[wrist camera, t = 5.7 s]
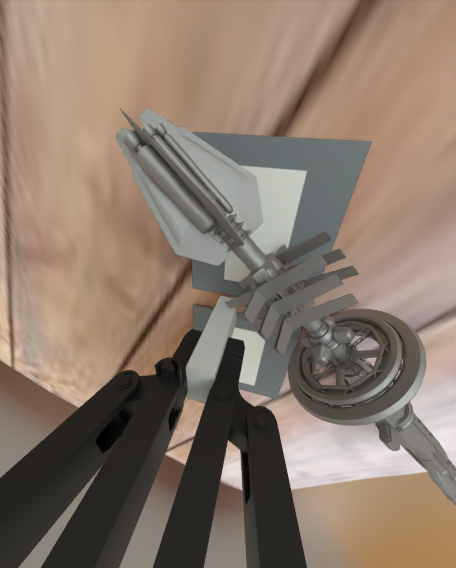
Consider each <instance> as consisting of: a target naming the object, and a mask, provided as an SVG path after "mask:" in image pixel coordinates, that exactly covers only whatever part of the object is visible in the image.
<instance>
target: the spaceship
mask: <svg viewBox="0 0 456 568" xmlns="http://www.w3.org/2000/svg"><path fill="white" fill-rule="evenodd" d="M120 110H121V109H120ZM121 111H122V110H121ZM122 113H123V115H124V116H125V117H126V119H127V120H128V122H129V123H130V124H131V126H132V127H133V129H134V130H135V131H136V132H135V131H129V130H128V129H126V128H122V129H121V130H120V131H119V132H118V133H117V134H116V139H117V141H118V143H119V145H120V147H121V149H122V151H123V153H124V154H125V156H126V158H127V160H128V162H129V164H130V166H131V168H132V170H133V174H132V176H133V178H134V180H135V181H136V183H137V185H138V187H139V189H140V190H141V192H142V194H143V196H144V198H145V200H146V201H147V203H148V205H149V207H150V209H151V210H152V212H153V214H154V216H155V218H156V220H157V221H158V223H159V225H160V227H161V229H162V231H163V232H164V234H165V236H166V238H167V240H168V241H169V243H170V245H171V247H172V249H173V251H174V252H175V254H176V255H180V256H184V257H187V258H191V259H195V260H198V261H202V262H206V263H209V264H213V265H220V264H221V263H222V262H223V261H224V260H225V259H226V258H227V257H228V256H229V255H230V254H232V253H235V254H236V256H237V257H238V258H240V260H241V261H242V262H243V263H244V264H245V265H246V266H247V268H248V269H249V270H250V271H251V272H250V274H249V275H248V276H247V277H245V278H244V279H243V280H241V281H240V282H239V283H238V284H239V285H240V286H241V287H242V288H245V287H247V286H249V285H250V284H253V285H251V286H250V287H251V288H252V289H253V290H252V291H250V292H248V293H245V294H243V295H241V296H238V297H236V298H234V299H232V300H229V301H227V302H225V304H226V305H227V306H228V307H229V308H230V309H231V308H236V307H240V306H245V305H247V306H246V308H245V310H244V312H242V313H239V314H236V315H237V316H238V317H239V318H240V319H241V320H245V321H246V322H247V323H248V324H250V322H251V323H253V321H254V319H256V318H263V320H262V322H261V323H260V324H254V325H248V327H249V328H250V329H251V330H252V331H258V334H259V335H260V336H261V337H262V338H263V339H264V340H266V339H267V340H268V339H269V337H270V335H271V333H272V331H278V333H277V337H276V340H275V343H274V347H273V349H274V350H275V352H276V353H277V354H278V355H279V356H280V355H281V354H282V355H284V353H285V350H286V348H287V345H288V342H289V340H290V337H291V334H292V332H295V331H296V330H295V329H296V328H299V327H301V326H303V327H304V328H305V330H306V333H305V334H304V335H302V337H301V338H300V340H299V341H298V342H297V344H296V346H295V348H294V350H293V352H292V354H291V357H290V361H289V366H288V377H289V382H290V386H291V389H292V392H293V394H294V396H295V398H296V399H297V401H298V402H299V403H300V405H301V406H302V407H303V408H304V409H305V410H306V411H308V412H309V413H310V414H312V415H313V416H315V417H317V418H319V419H321V420H324V421H326V422H330V423H334V424H339V425H354V426H355V425H365V424H370V423H375V424H377V425H378V426H377V425H376V426H377V427H378V429H379V438H380V440H381V441H382V442H383V443H384V444H385V445H386V446H387V447H388V448H389V449H391V450H392V451H398V450H399V449H400V445H401V446H402V447H403V448H404V449H405V450H406V451H407V452H408V453H409V454H410V455H411V456H412V457H413V458H414V459H415V460H416V461H417V462H418V463H419V464H420V465H421V466H422V467H424V468H425V469H426V470H427V471H428V473H429V475H430V477H431V479H432V480H433V482H434V483H435V484H436V485H437V486H438V487H439V488H440V489H441V490H442V492H443V493H444V494H445V495H446V496H447V498H448V499H449V500H450V501H451V502H453V503H454V504H455V505H456V467H455V466H454V465H453V464H452V462H451V461H450V460H449V459H448V458H447V455H446V453H445V451H444V450H443V448H442V446H441V445H440V443H439V442H438V440H437V439H436V438H435V437H434V436H433V434H432V433H431V432H430V431H429V430H428V429H427V427H425V425H424V424H423V423H422V422H421V420H419V418H418V417H417V416H416V415H415V414H414V413H413V408H412V405H411V403H410V401H411V399H412V398H413V397H414V396H415V394H416V393H417V391H418V389H419V388H420V385H421V383H422V381H423V377H424V374H425V369H426V354H425V349H424V346H423V344H422V341H421V340H420V338H419V336H418V335H417V333H416V332H415V331H414V330H413V329H412V328H411V327H410V326H409V325H408V324H407V323H405V322H404V321H402V320H401V319H399V318H397V317H395V316H393V315H390V314H388V313H385V312H382V311H377V310H371V309H354V310H348V311H343V312H340V313H336V314H334V315H331V316H330V314H333V313H335V312H338V311H340V310H343V309H345V308H348V307H350V306H352V305H355V304H357V303H358V301H357V300H356V298H355V297H354V296H353V295H352V294H348V295H345V296H343V297H340V298H338V299H335V300H332V301H330V302H327V303H325V304H322V305H319V306H317V307H314V308H313V304H314V300H313V299H314V298H316V297H318V296H320V295H322V294H324V293H326V292H328V291H330V290H332V289H334V288H336V287H339V286H341V285H342V284H343V282H342V281H341V280H342V279H345V278H348V277H352V276H355V275H358V274H359V273H358V272H357V271H356V269H355V268H354V267H353V266H350V267H346V268H343V269H339V270H336V271H333V272H329V273H326V274H322V275H319V276H315V277H312V278H308V275H310V274H312V273H313V272H315V271H317V270H319V269H320V268H322V267H324V266H326V265H329V264H331V263H334V262H336V261H339V260H341V259H344V258H345V257H346V256H345V255H344V254H343V252H342V251H341V250H340V249H337V250H334V251H332V252H329V253H327V254H324V255H320V254H318V255H316V256H314V257H312V258H310V259H308V260H307V261H305V262H303V263H300V264H299V261H298V260H297V258H299V257H301V256H302V255H304V254H306V253H308V252H310V251H312V250H314V249H316V248H318V247H320V246H322V245H324V244H326V243H328V242H330V241H331V240H332V238H331V237H330V236H329V234H328V233H327V232H326V231H325V232H322V233H320V234H318V235H316V236H314V237H312V238H310V239H308V240H306V241H304V242H302V243H300V244H298V245H295V246H293V247H291V248H289V249H288V248H287V247H286V246H285V244H284V245H283V246H281V247H280V249H279V250H278V251H277V253H276V254H275V255H274V253H269V254H267V255H265V254H264V253H263V252H262V251H261V250H260V249H259V248H258V246H257V245H256V244H255V242H254V241H253V240H252V239H251V238H250V237H249V236H250V235H251V234H252V233H253V232H254V231H255V230H256V229H257V228H258V227H259V226H260V225H261V224H262V223H263V215H262V209H261V203H260V197H259V191H258V185H257V179H256V176H255V175H253V174H252V173H250V172H249V171H247V170H246V169H244V168H243V167H241V166H240V165H238V164H237V163H236V162H234V161H233V160H231V159H230V158H228V157H227V156H225V155H224V154H222V153H221V152H219V151H218V150H216V149H215V148H213V147H212V146H211V145H209V144H208V143H206V142H205V141H203V140H202V139H200V138H199V137H197V136H196V135H194V134H193V133H191V132H190V131H188V130H187V129H186V128H184V127H177V126H175V125H174V124H172V123H171V122H169V121H168V120H166V119H165V118H163V117H161V116H160V115H158V114H157V113H155V112H154V111H152V110H151V109H145V110H144V111H143V112H142V113H141V115H140V120H141V122H142V124H143V126H144V129H143V130H142V129H141V128H140V127H139V126H138V125H137V124H136V123H135V122H134V121H133V120H132V119H130V118H129V117H128V116H127V115H126V114H125V113H124V112H123V111H122ZM355 336H361V337H360V338H359V339H361V340H360V341H359V342H357V341H358V340H359V339H357V340H356V341H355V342H353V343H352V344H351V343H350V342H351V341H352V340H353V339H354V337H355ZM363 337H365V338H363ZM367 337H369V338H371V339H373V340H375V341H376V342H378V343H379V345H380V347H381V348H380V351H373V350H366V351H357V349H356V350H355V348H356V347H355V346H357V345H358V344H359V343H361V342H362V341H363V340H365V339H366V338H367ZM362 338H363V339H362ZM401 340H402V341H401ZM347 342H349V343H347ZM402 342H403V343H402ZM355 343H357V344H355ZM354 344H355V345H354ZM351 345H352V346H353V347H352V346H351ZM373 357H377V359H376V362H375V365H374V366H372V365H371V364H370V362H368V361H366V360H362V359H361V358H373ZM381 358H382V359H381ZM402 359H403V364H402ZM380 361H381V362H380ZM328 362H329V363H328ZM316 363H318V364H320V365H322V366H321V367H324V366H323V365H325V366H327V367H328V366H329V365H330V366H331V367H330V366H329V367H330V368H329V367H328V368H329V369H328V368H327V367H326V369H325V370H324V371H323V372H321V373H319V374H320V375H321V374H322V373H324V372H325V371H326V370H327V369H328V371H327V372H326V373H325V374H323V375H322V376H320V375H319V374H318V372H319V369H320V368H321V367H319V368H318V369H317V370H316ZM379 363H380V365H379ZM405 363H406V364H405ZM326 364H327V365H326ZM332 366H333V367H332ZM378 366H379V367H378ZM335 367H336V386H330V385H321V384H320V382H319V380H320V379H321V378H322V377H323V376H325V375H326V374H327V373H328V372H329V371H330V370H331V369H335ZM400 367H402V368H400ZM317 371H318V372H317ZM399 371H401V372H400V374H399V375H398V377H397V379H396V380H395V378H396V376H397V374H398V372H399ZM316 372H317V374H316ZM317 375H318V376H317ZM319 376H320V377H319ZM318 378H319V379H318ZM344 385H345V386H344ZM313 399H314V400H316V401H317V402H316V401H314V400H313ZM318 402H319V403H318ZM321 404H323V405H321ZM329 404H330V405H329ZM357 404H358V405H357ZM324 405H326V406H324ZM332 405H333V406H332ZM349 405H351V406H350V407H342V406H349ZM355 405H357V406H355ZM327 406H328V407H327ZM330 407H331V408H330Z"/></svg>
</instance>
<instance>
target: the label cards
mask: <svg viewBox="0 0 456 568" xmlns="http://www.w3.org/2000/svg"><path fill="white" fill-rule="evenodd" d="M191 133H193V134H194V135H196V136H197V137H199V138H200V139H202V140H203V141H205V142H206V143H208V144H209V145H211V146H212V147H213V148H215V149H216V150H218V151H219V152H221V153H222V154H224V155H225V156H227V157H228V158H230V159H231V160H233V161H234V162H236V163H237V164H238V165H240V166H241V167H243V168H244V169H246V170H247V171H249V172H250V173H252V174H253V175H255V176H256V179H257V185H258V191H259V197H260V203H261V209H262V215H263V223H262V224H261V225H260V226H259V227H258V228H257V229H256V230H255V231H254V232H253V233H252V234H251V235H250V236H249V237H250V238H251V239H252V240H253V241H254V242H255V244H256V245H257V246H258V248H259V249H260V250H261V251H262V252H263V253H264V254H265V255H267V254H269V253H274V255H275V254H276V253H277V251H278V250H279V249H280V247H281V246H283V245H284V244H285V246H286V247H287V248H288V249H289V248H291V247H293V246H295V245H298V244H300V243H302V242H304V241H306V240H308V239H310V238H312V237H314V236H316V235H318V234H320V233H322V232H325V231H326V232H327V233H328V234H329V236H330V237H331V238H332V240H331V241H330V242H328V243H326V244H324V245H322V246H320V247H318V248H316V249H314V250H312V251H310V252H308V253H306V254H304V255H302V256H301V257H299V258H297V260H298V261H299V264H300V263H303V262H305V261H307V260H308V259H310V258H312V257H314V256H316V255H318V254H320V255H324V254H327V253H329V252H331V250H332V247H333V245H334V242H335V239H336V237H337V234H338V231H339V228H340V226H341V223H342V220H343V218H344V215H345V212H346V209H347V207H348V204H349V201H350V199H351V196H352V193H353V191H354V188H355V185H356V182H357V180H358V177H359V174H360V172H361V169H362V166H363V163H364V161H365V158H366V155H367V153H368V150H369V147H370V144H371V142H366V141H348V140H329V139H311V138H293V137H274V136H256V135H238V134H220V133H201V132H191ZM324 269H325V266H324V267H322V268H320V269H319V270H317V271H315V272H313V273H312V274H310V275H308V278H312V277H315V276H319V275H322V274H323V272H324ZM250 272H251V271H250V270H249V269H248V268H247V266H246V265H245V264H244V263H243V262H242V261H241V260H240V258H238V257H237V256H236V254H235V253H232V254H230V255H229V256H228V257H227V258H226V259H225V260H224V261H223V262H222V263H221V264H220V265H213V264H209V263H206V262H202V261H198V260H195V259H192V282H193V288H195V289H200V290H206V291H211V292H216V293H221V294H227V295H232V296H237V297H238V296H241V295H243V294H245V293H248V292H250V291H252V290H253V289H252V288H251V287H250V286H251V285H253V284H250V285H249V286H247V287H245V288H242V287H241V286H240V285H239V284H238V283H239V282H240V281H241V280H243V279H244V278H245V277H247V276H248V275H249V274H250ZM213 310H214V308H211V307H206V306H201V305H196V304H194V305H193V324H194V330H198V331H202V332H203V331H204V328H205V326H206V324H207V322H208V320H209V318H210V316H211V314H212V312H213ZM237 314H239V313H237ZM262 320H263V318H256V319H254V321H253V323H251V322H250V324H248V323H247V322H246V321H245V320H241V319H240V318H239V317H238V316H236V323H235V328H234V332H233V335H232V338H234V339H239V340H243V341H244V345H245V352H244V357H243V363H242V368H241V373H240V379H239V384H238V388H239V389H241V390H245V391H249V392H252V393H256V394H260V395H264V396H267V397H271V398H275V399H277V396H278V394H279V391H280V388H281V386H282V383H283V380H284V377H285V375H286V372H287V369H288V366H289V361H290V357H291V354H292V352H293V350H294V348H295V346H296V344H297V342H298V340H299V337H300V334H301V331H302V329H303V328H302V326H301V327H299V328H296V329H295V330H296V331H295V332H292V334H291V337H290V340H289V342H288V345H287V348H286V350H285V353H284V355H282V354H281V355H280V356H279V355H278V354H277V353H276V352H275V350H274V349H273V347H274V343H275V340H276V337H277V333H278V331H272V333H271V335H270V337H269V339H268V340H267V339H266V340H264V339H263V338H262V337H261V336H260V335H259V334H258V331H252V330H251V329H250V328H249V327H248V325H254V324H260V323H261V322H262Z"/></svg>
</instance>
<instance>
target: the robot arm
mask: <svg viewBox="0 0 456 568" xmlns="http://www.w3.org/2000/svg"><path fill="white" fill-rule="evenodd" d="M232 299H234V298H230V297H224V296H220V297H219V299H218V301H217V304H216V306H215V308H214V310H213V312H212V314H211V316H210V318H209V320H208V322H207V324H206V326H205V328H204V331H203V332H202V331H198V330H193V329H192V330H190V331H189V332H188V333H187V334H186V335H185V336H184V338H183V340H182V342H181V343H180V345H179V347H178V349H177V350H176V352H175V354H174V355H173V357H172V358H169V357H168V358H164V359H162V360H160V361H159V362H158V363H157V364H156V365H155V369H156V374H155V375H148V376H139V375H138V374H137V373H136V372H135V371H132V370H126V371H123V372H121V373H119V374H118V375H116V376H115V377H114V378H113V379H111V380H110V381H109V382H108V383H107V384H106V385H105V386H104V387H102V388H101V389H100V390H99V391H98V392H97V393H96V394H95V395H93V396H92V397H91V398H90V399H89V400H88V401H87V402H85V403H84V404H83V405H82V406H81V407H80V408H79V409H78V410H77V411H75V412H74V413H73V414H72V415H71V416H70V417H69V418H67V419H66V420H65V421H64V422H63V423H62V424H61V425H60V426H58V428H56V429H55V430H54V431H53V432H52V433H51V434H49V435H48V436H47V437H46V438H45V439H44V440H43V441H41V442H40V443H39V444H38V445H37V446H36V447H35V448H34V449H32V450H31V451H30V452H29V453H28V454H27V455H26V456H25V457H23V458H22V459H21V460H20V461H19V462H18V463H17V464H16V465H14V466H13V467H12V468H11V469H10V470H9V471H8V472H6V474H4V475H3V476H2V477H1V478H0V568H18V567H19V566H20V565H21V563H22V562H23V561H24V560H25V558H26V557H27V556H28V555H29V554H30V552H31V551H32V550H33V549H34V548H35V546H36V545H37V544H38V543H39V542H40V540H41V539H42V538H43V537H44V535H45V534H46V533H47V532H48V530H49V529H50V528H51V527H52V526H53V524H54V523H55V522H56V521H57V520H58V518H59V517H60V516H61V515H62V513H63V512H64V511H65V510H66V509H67V507H68V506H69V505H70V504H71V503H72V501H73V500H74V499H75V497H76V496H77V495H78V494H79V493H80V492H81V490H82V489H83V488H84V487H85V485H86V484H87V483H88V482H89V481H90V479H91V478H92V477H93V476H94V475H95V473H96V472H97V471H98V470H99V468H100V467H101V466H102V465H103V466H102V467H101V469H100V471H99V473H98V474H97V476H96V477H95V479H94V481H93V482H92V484H91V486H90V487H89V489H88V491H87V492H86V494H85V496H84V497H83V499H82V501H81V502H80V504H79V505H78V507H77V509H76V511H75V512H74V514H73V516H72V517H71V519H70V520H69V522H68V524H67V526H66V527H65V529H64V531H63V532H62V534H61V535H60V537H59V539H58V540H57V542H56V544H55V545H54V547H53V549H52V550H51V552H50V554H49V556H48V557H47V559H46V560H45V562H44V563H43V565H42V567H41V568H119V566H120V564H121V561H122V559H123V556H124V554H125V552H126V549H127V546H128V544H129V542H130V539H131V537H132V534H133V532H134V529H135V527H136V524H137V522H138V519H139V517H140V515H141V512H142V510H143V507H144V505H145V502H146V499H147V497H148V495H149V492H150V490H151V487H152V485H153V482H154V480H155V477H156V475H157V472H158V470H159V467H160V465H161V462H162V460H163V458H164V455H165V453H166V450H167V448H168V445H169V443H170V440H171V438H172V435H173V433H174V430H175V428H176V425H177V423H178V420H179V418H180V416H181V413H182V411H183V407H184V400H185V397H186V395H187V398H188V399H191V400H195V401H198V402H202V403H205V406H204V409H203V413H202V416H201V419H200V422H199V425H198V428H197V431H196V434H195V437H194V441H193V444H192V447H191V450H190V453H189V456H188V459H187V462H186V466H185V469H184V472H183V475H182V478H181V481H180V484H179V488H178V491H177V494H176V497H175V500H174V503H173V506H172V509H171V513H170V516H169V519H168V522H167V525H166V528H165V531H164V534H163V537H162V541H161V544H160V547H159V550H158V553H157V556H156V559H155V562H154V566H153V568H204V563H205V558H206V553H207V548H208V542H209V537H210V532H211V527H212V521H213V516H214V510H215V505H216V500H217V495H218V490H219V484H220V479H221V474H222V469H223V464H224V458H225V453H226V448H227V443H228V440H229V441H230V442H231V443H233V444H234V445H235V446H236V447H237V448H239V449H240V452H241V470H242V488H243V506H244V524H245V542H246V559H247V560H246V561H247V568H307V565H306V561H305V556H304V551H303V546H302V541H301V536H300V532H299V527H298V522H297V517H296V512H295V507H294V503H293V498H292V493H291V488H290V483H289V478H288V473H287V469H286V464H285V459H284V454H283V449H282V444H281V440H280V435H279V430H278V425H277V421H276V418H275V416H274V414H273V413H272V412H271V411H270V410H269V409H267V408H266V407H263V406H256V407H254V406H253V405H251V404H250V403H248V402H247V401H246V400H244V399H243V397H242V396H241V394H240V392H239V388H238V384H239V379H240V373H241V368H242V363H243V357H244V352H245V345H244V341H243V340H239V339H234V338H232V335H233V332H234V328H235V323H236V316H237V315H236V314H237V309H238V307H236V308H231V309H230V308H229V307H228V306H227V305H226V304H225V302H227V301H229V300H232Z"/></svg>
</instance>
